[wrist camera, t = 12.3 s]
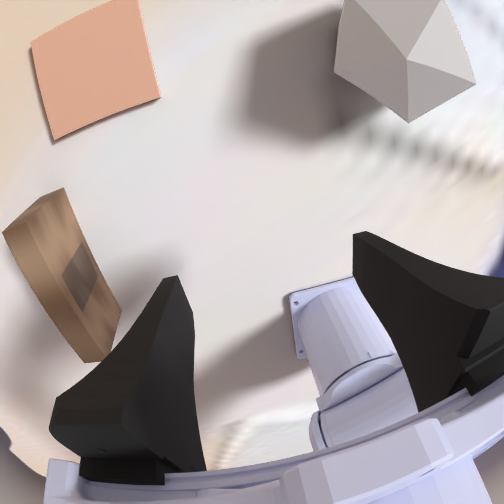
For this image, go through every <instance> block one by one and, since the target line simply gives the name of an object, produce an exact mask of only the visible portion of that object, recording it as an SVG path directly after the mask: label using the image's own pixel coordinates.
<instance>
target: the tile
mask: <svg viewBox="0 0 504 504" xmlns="http://www.w3.org/2000/svg"><path fill="white" fill-rule="evenodd" d="M31 48H32V53H33V59H34V64H35V69H36V74H37V78H38V83H39V87H40V91H41V95H42V99H43V103H44V107H45V110H46V114H47V118H48V121H49V124H50V128H51V131H52V134H53V138H54V140H56V139H58V138H60V137H62V136H64V135H66V134H68V133H71V132H73V131H75V130H77V129H79V128H81V127H84V126H86V125H88V124H91V123H93V122H95V121H98V120H100V119H102V118H105V117H107V116H110V115H112V114H115V113H118V112H120V111H123V110H125V109H128V108H131V107H134V106H137V105H139V104H142V103H145V102H148V101H151V100H154V99H157V98H161V93H160V89H159V85H158V81H157V77H156V73H155V69H154V65H153V61H152V57H151V53H150V49H149V44H148V40H147V36H146V31H145V27H144V23H143V18H142V14H141V9H140V4H139V0H112V1H110V2H107V3H105V4H102V5H100V6H98V7H96V8H93V9H91V10H89V11H87V12H85V13H83V14H80V15H78V16H76V17H74V18H72V19H70V20H68V21H67V22H65V23H63V24H61V25H59V26H57V27H55V28H54V29H52V30H50V31H48V32H47V33H45V34H43V35H42V36H40V37H38V38H37V39H35V40H33V41H32V42H31Z"/></svg>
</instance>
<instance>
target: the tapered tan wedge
mask: <svg viewBox="0 0 504 504" xmlns="http://www.w3.org/2000/svg"><path fill="white" fill-rule="evenodd" d="M2 234H3V236H4V238H5V240H6V242H7V244H8V246H9V248H10V250H11V252H12V254H13V256H14V258H15V260H16V262H17V263H18V265H19V267H20V269H21V271H22V272H23V274H24V276H25V278H26V279H27V281H28V283H29V285H30V286H31V288H32V290H33V291H34V293H35V294H36V296H37V298H38V299H39V301H40V302H41V304H42V306H43V307H44V309H45V310H46V312H47V313H48V315H49V316H50V318H51V319H52V320H53V322H54V323H55V325H56V326H57V328H58V329H59V330H60V332H61V333H62V335H63V336H64V337H65V339H66V340H67V341H68V343H69V344H70V345H71V347H72V348H73V349H74V351H75V352H76V353H77V354H78V356H79V357H80V358H81V359H82V361H83V362H84V363H91V362H101V361H103V360H104V358H105V357H106V356H107V355H108V354H109V353H110V352H111V348H112V344H113V340H114V336H115V332H116V329H117V325H118V321H119V318H120V314H121V309H120V307H119V305H118V303H117V302H116V300H115V298H114V296H113V294H112V292H111V291H110V289H109V287H108V285H107V283H106V281H105V279H104V277H103V275H102V273H101V271H100V269H99V267H98V265H97V263H96V261H95V259H94V257H93V255H92V253H91V251H90V249H89V246H88V244H87V242H86V240H85V238H84V236H83V233H82V231H81V229H80V226H79V224H78V222H77V219H76V217H75V215H74V212H73V210H72V207H71V205H70V202H69V200H68V197H67V195H66V192H65V189H64V188H61V189H59V190H56V191H54V192H51V193H49V194H47V195H44V196H42V197H40V198H39V199H38V200H37V201H36V202H34V203H33V204H32V205H31V206H30V207H29V208H28V209H26V210H25V211H24V212H23V213H22V214H21V215H20V216H19V217H18V218H17V219H15V220H14V221H13V222H12V223H11V224H10V225H9V226H8V227H7V228H6V229H5V230H4V231H3V232H2Z"/></svg>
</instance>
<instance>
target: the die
mask: <svg viewBox="0 0 504 504" xmlns="http://www.w3.org/2000/svg"><path fill="white" fill-rule="evenodd" d="M334 73H336V74H337V75H339V76H341V77H342V78H344V79H346V80H347V81H349V82H350V83H352V84H354V85H355V86H357V87H358V88H360V89H361V90H363V91H364V92H366V93H367V94H369V95H370V96H372V97H373V98H375V99H376V100H378V101H379V102H380V103H382V104H383V105H385V106H386V107H388V108H389V109H390V110H392V111H393V112H394V113H396V114H397V115H398V116H400V117H401V118H402V119H404V120H405V121H406V122H407V123H410V122H411V121H413V120H415V119H416V118H418V117H420V116H422V115H423V114H425V113H427V112H428V111H430V110H432V109H434V108H435V107H437V106H439V105H441V104H442V103H444V102H446V101H448V100H449V99H451V98H453V97H455V96H456V95H458V94H460V93H462V92H463V91H465V90H467V89H469V88H471V87H472V86H474V85H476V80H475V77H474V73H473V70H472V67H471V64H470V60H469V57H468V54H467V51H466V49H465V46H464V43H463V40H462V38H461V35H460V32H459V30H458V28H457V25H456V23H455V21H454V18H453V16H452V14H451V12H450V10H449V8H448V6H447V4H446V2H445V0H344V4H343V9H342V13H341V17H340V21H339V25H338V36H337V47H336V57H335V66H334Z"/></svg>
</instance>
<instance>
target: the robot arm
mask: <svg viewBox="0 0 504 504" xmlns="http://www.w3.org/2000/svg"><path fill="white" fill-rule="evenodd" d="M353 276H354V277H352V278H348V279H345V280H341V281H337V282H334V283H330V284H326V285H322V286H318V287H314V288H311V289H307V290H303V291H299V292H295V293H292V294H291V295H290V296H289V301H290V309H291V316H292V323H293V331H294V339H295V346H296V354H297V358H298V359H299V360H303V359H306V358H307V359H308V362H309V365H310V368H311V370H312V373H313V376H314V379H315V382H316V385H317V388H318V391H319V394H320V397H318V398H317V399H316V401H317V404H318V407H319V411H317V412H314V413H313V414H312V417H311V421H310V424H309V437H310V441H311V445H312V448H313V450H314V452H310V453H306V454H302V455H298V456H294V457H290V458H286V459H281V460H276V461H271V462H266V463H261V464H255V465H250V466H243V467H237V468H229V469H221V470H212V471H207V469H206V465H205V460H204V456H203V451H202V446H201V440H200V434H199V428H198V421H197V414H196V406H195V397H194V382H193V377H194V344H195V330H194V319H193V312H192V309H191V307H190V305H189V302H188V300H187V297H186V295H185V292H184V290H183V288H182V285H181V283H180V280H179V278H178V275H176V276H172V277H168V278H163V280H162V281H161V283H160V284H159V286H158V287H157V289H156V291H155V292H154V294H153V296H152V297H151V299H150V300H149V302H148V303H147V305H146V307H145V308H144V310H143V311H142V313H141V314H140V316H139V317H138V318H137V320H136V321H135V323H134V324H133V326H132V327H131V328H130V330H129V331H128V332H127V334H126V335H125V336H124V337H123V339H122V340H121V341H120V342H119V343H118V345H117V346H116V347H115V348H114V349H113V350H112V351H111V352H110V353H109V354H108V355H107V356H106V357H105V358H104V360H103V361H102V362H101V363H100V364H99V365H98V366H97V367H95V368H94V369H93V370H92V371H91V372H90V373H89V374H88V375H86V376H85V377H84V378H83V379H82V380H80V381H79V382H78V383H76V384H75V385H74V386H72V387H71V388H70V389H68V390H67V391H65V392H64V393H63V394H61V395H60V396H58V397H57V398H56V400H55V404H54V408H53V412H52V416H51V420H50V425H49V431H50V433H51V434H52V436H53V437H54V438H55V439H56V440H57V441H58V442H60V443H61V444H62V445H64V446H65V447H67V448H68V449H70V450H71V451H73V452H74V453H76V454H77V455H79V456H80V457H81V461H80V464H78V463H75V462H72V461H65V460H59V459H52V458H51V459H49V463H48V470H47V477H46V486H45V494H44V504H492V502H491V500H490V497H489V495H488V493H487V490H486V488H485V486H484V483H483V481H482V479H481V477H480V474H479V472H478V470H477V468H476V466H475V464H474V462H473V459H474V458H476V457H477V456H478V455H480V454H481V453H483V452H484V451H486V450H487V449H488V448H490V447H491V446H492V445H494V444H495V443H496V442H497V441H499V440H500V439H501V438H503V437H504V278H499V277H490V276H485V275H479V274H474V273H469V272H466V271H462V270H458V269H454V268H451V267H448V266H445V265H442V264H439V263H436V262H433V261H431V260H428V259H426V258H424V257H421V256H419V255H417V254H414V253H412V252H410V251H408V250H406V249H403V248H401V247H399V246H397V245H395V244H393V243H391V242H389V241H387V240H385V239H383V238H381V237H379V236H377V235H374V234H372V233H370V232H367V231H364V232H360V233H356V234H353ZM295 301H297V302H296V303H294V302H295Z"/></svg>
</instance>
